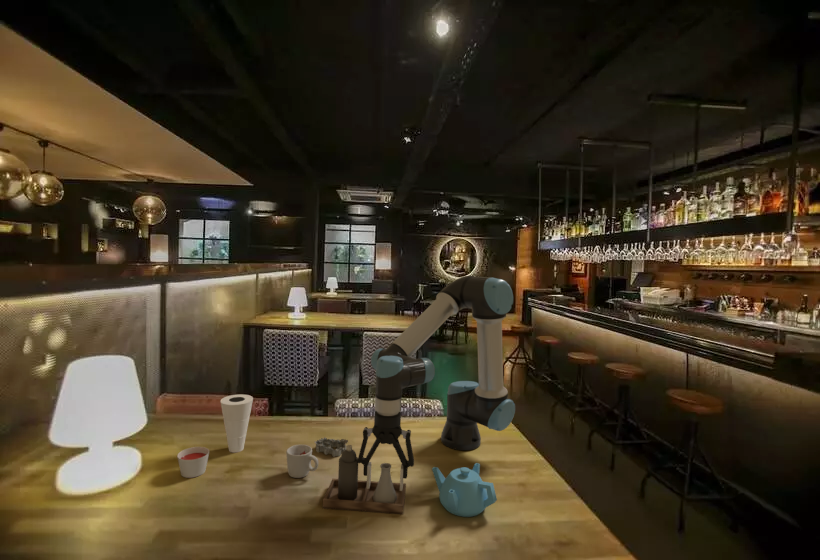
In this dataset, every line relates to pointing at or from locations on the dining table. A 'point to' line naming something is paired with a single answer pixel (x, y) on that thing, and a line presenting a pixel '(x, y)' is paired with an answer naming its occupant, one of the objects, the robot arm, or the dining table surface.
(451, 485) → the teapot
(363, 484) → the caddy
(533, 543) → the dining table surface
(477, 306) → the robot arm
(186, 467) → the candle
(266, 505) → the dining table surface
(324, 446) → the egg carton
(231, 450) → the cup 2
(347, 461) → the pepper mill
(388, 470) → the flask
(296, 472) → the cup
